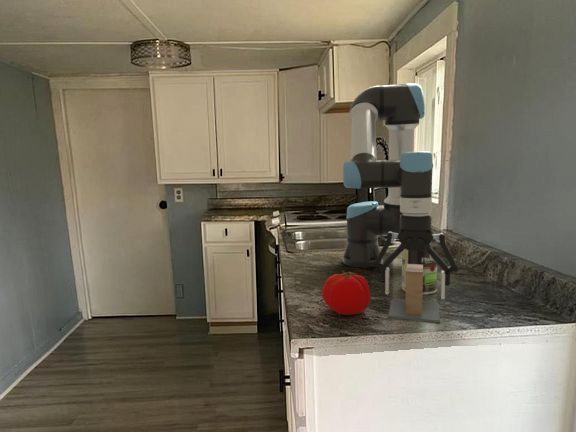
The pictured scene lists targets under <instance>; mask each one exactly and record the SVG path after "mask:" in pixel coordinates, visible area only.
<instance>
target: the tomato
mask: <svg viewBox="0 0 576 432" xmlns="http://www.w3.org/2000/svg"><path fill="white" fill-rule="evenodd" d="M340 271H341V272H342V273H340V274H339V273H335V274H333V275H331V276H330V277H328V278H327V279H326V281H325V282H324V284H323V286H322V287H323V288H322V290H321V292H322V293H321V294H322V298H323V301H324V302H325V305H327V306H328V307H329V309H331V310H333V311H334V312H335V313H337V314H339V315H343V316H345V315H346V316H352V315H357V314H361V313H363V312H364V311H365V310H366V309H367V308H368V306H369V304H370V302H371V295H372V294H371V292H370V285H369V283H368V281H367V280H366V279H365V277H364V276H362V275H360V274H358V273H355V272H351V271H347V272H346V271H344V270H340Z"/></svg>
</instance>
